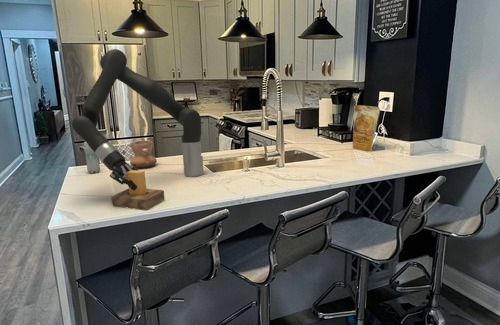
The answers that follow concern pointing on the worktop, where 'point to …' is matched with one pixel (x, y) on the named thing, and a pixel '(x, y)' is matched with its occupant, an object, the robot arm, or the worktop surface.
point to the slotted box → (138, 199)
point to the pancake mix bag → (364, 126)
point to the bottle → (91, 159)
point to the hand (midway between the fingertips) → (138, 187)
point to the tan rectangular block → (137, 182)
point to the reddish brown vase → (142, 154)
